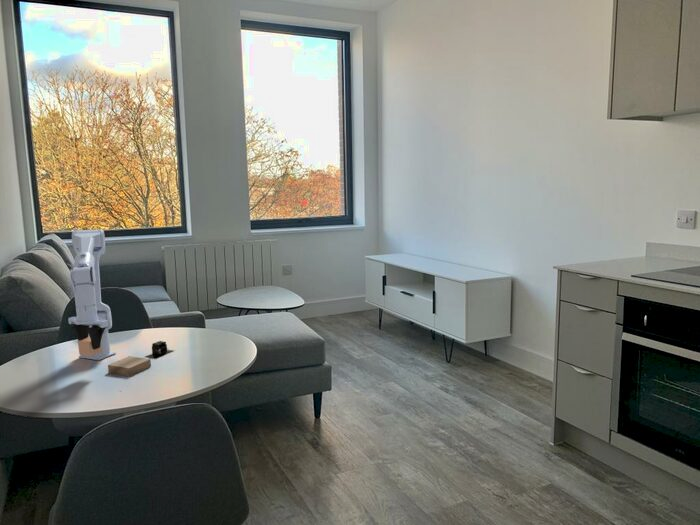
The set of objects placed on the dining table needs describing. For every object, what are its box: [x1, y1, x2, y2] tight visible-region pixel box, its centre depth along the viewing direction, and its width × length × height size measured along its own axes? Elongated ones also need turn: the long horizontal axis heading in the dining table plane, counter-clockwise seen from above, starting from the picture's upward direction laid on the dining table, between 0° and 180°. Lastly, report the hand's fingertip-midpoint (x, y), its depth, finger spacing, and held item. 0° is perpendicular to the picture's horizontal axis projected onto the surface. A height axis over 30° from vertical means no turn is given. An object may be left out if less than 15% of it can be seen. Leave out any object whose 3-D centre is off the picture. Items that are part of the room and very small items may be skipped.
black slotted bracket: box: [144, 340, 174, 360], centre depth 189 cm, size 12×7×5 cm, turn 155°
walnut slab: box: [107, 355, 152, 377], centre depth 174 cm, size 9×9×3 cm
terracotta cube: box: [77, 337, 102, 356], centre depth 168 cm, size 4×4×4 cm
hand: (90, 347), depth 168 cm, fingers closed on terracotta cube, 4 cm apart
